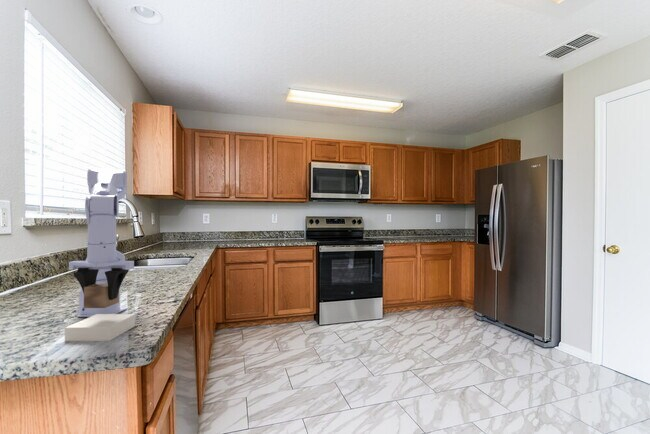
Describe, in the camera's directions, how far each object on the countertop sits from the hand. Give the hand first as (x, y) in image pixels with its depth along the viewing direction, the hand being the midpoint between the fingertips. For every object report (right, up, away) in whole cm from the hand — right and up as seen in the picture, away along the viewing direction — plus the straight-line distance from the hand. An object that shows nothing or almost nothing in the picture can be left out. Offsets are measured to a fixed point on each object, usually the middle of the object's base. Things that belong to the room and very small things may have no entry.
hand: (101, 298), depth 74 cm
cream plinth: (0, -9, 0) cm, 9 cm away
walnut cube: (0, -2, 0) cm, 2 cm away
